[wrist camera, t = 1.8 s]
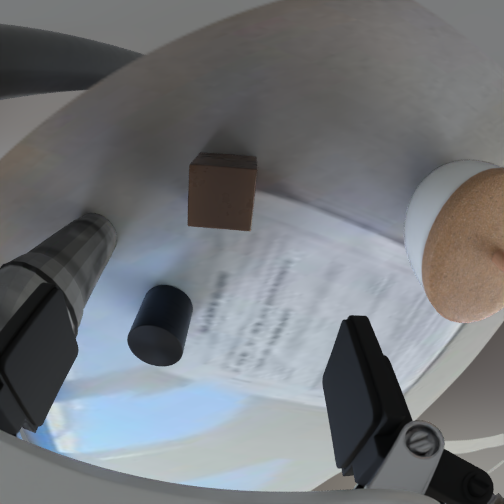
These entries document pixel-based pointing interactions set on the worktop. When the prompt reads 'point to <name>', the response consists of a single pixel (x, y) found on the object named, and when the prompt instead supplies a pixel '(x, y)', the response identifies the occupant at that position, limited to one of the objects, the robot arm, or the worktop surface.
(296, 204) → the worktop surface
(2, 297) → the beverage cup
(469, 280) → the lidded bowl
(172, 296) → the black cylinder
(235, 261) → the worktop surface
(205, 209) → the walnut block
